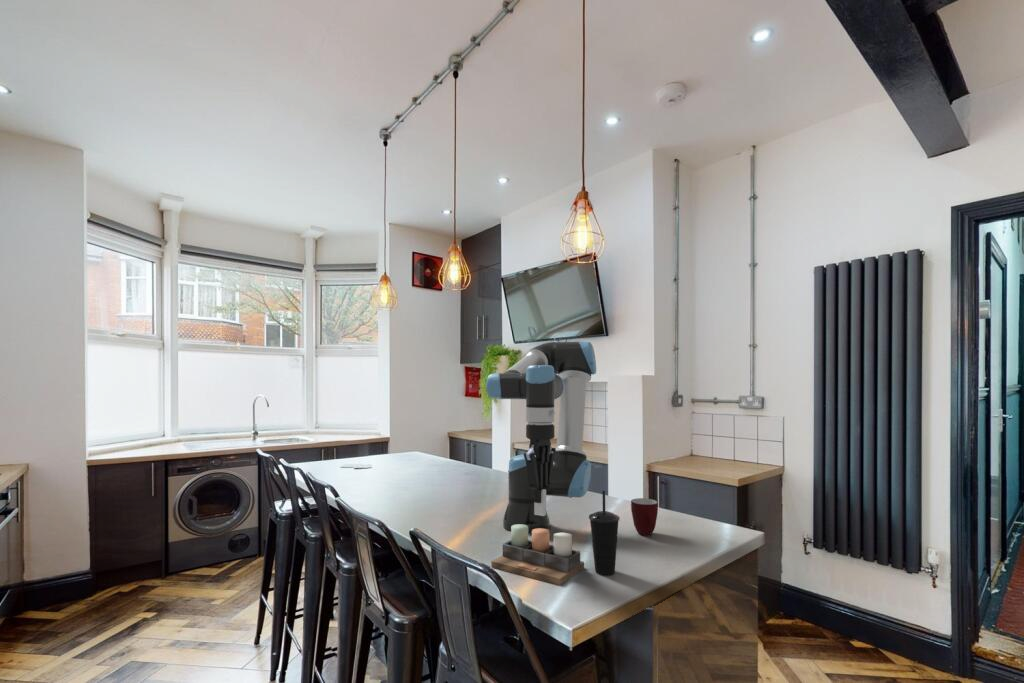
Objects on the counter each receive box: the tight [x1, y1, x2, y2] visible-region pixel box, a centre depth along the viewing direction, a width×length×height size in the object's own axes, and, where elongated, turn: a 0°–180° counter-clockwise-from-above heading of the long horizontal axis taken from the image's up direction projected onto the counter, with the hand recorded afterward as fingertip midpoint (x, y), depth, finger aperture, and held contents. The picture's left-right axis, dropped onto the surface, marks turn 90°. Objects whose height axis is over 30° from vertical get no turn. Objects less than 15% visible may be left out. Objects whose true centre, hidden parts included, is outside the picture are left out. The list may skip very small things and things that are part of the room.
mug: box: [630, 497, 659, 537], centre depth 156 cm, size 11×8×10 cm
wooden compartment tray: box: [490, 539, 585, 586], centre depth 129 cm, size 20×13×4 cm, turn 56°
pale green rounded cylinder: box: [510, 524, 529, 548], centre depth 134 cm, size 5×5×5 cm
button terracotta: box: [531, 528, 551, 553], centre depth 131 cm, size 5×5×5 cm
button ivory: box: [553, 532, 573, 558], centre depth 127 cm, size 5×5×5 cm
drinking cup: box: [588, 490, 621, 577], centre depth 127 cm, size 8×8×20 cm
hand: (540, 514), depth 131 cm, fingers closed
